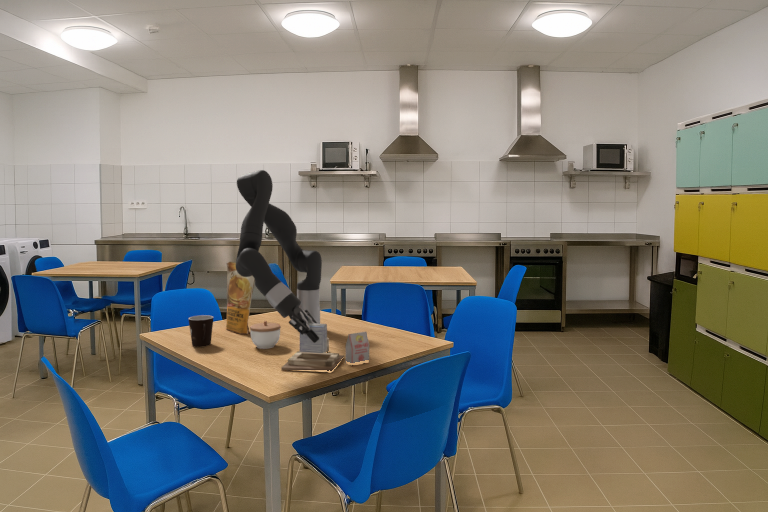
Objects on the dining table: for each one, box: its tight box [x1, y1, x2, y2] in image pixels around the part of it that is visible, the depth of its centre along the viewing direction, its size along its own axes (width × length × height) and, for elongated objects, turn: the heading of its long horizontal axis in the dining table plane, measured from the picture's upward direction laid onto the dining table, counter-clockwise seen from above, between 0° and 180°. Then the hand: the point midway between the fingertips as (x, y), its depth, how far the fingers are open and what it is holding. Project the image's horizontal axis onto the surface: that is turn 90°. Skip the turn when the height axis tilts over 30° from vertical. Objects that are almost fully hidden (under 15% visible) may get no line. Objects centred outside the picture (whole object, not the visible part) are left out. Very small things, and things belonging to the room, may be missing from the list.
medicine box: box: [299, 323, 328, 353], centre depth 157 cm, size 8×4×9 cm, turn 80°
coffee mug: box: [188, 314, 214, 348], centre depth 178 cm, size 12×9×10 cm
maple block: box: [324, 337, 330, 353], centre depth 170 cm, size 5×5×5 cm
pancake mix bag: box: [225, 261, 255, 335], centre depth 201 cm, size 7×19×28 cm, turn 47°
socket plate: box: [280, 350, 345, 371], centre depth 157 cm, size 16×16×2 cm
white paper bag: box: [345, 331, 370, 363], centre depth 159 cm, size 4×7×10 cm, turn 126°
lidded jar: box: [249, 320, 282, 350], centre depth 178 cm, size 11×11×9 cm
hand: (319, 338), depth 157 cm, fingers closed on medicine box, 4 cm apart
